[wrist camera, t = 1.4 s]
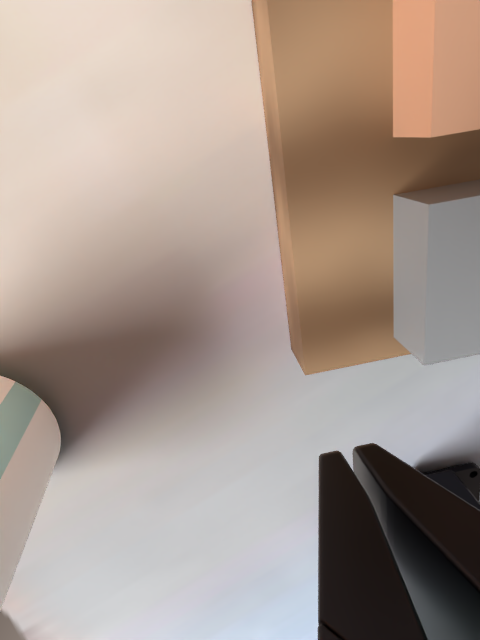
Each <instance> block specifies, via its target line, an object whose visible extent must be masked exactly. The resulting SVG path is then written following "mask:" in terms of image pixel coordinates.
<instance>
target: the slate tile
mask: <svg viewBox="0 0 480 640" xmlns="http://www.w3.org/2000/svg"><path fill="white" fill-rule="evenodd" d="M393 283H394V338H395V339H396V340H397V341H398V342H399V343H400V344H402V345H403V346H404V347H405V348H406V349H407V350H408V351H409V352H410V353H411V354H412V355H413V356H414V357H415V358H416V359H418V360H419V361H420V362H421V363H422V364H423V365H429V364H434V363H439V362H444V361H449V360H453V359H458V358H463V357H468V356H473V355H478V354H480V179H479V180H473V181H468V182H462V183H457V184H451V185H446V186H440V187H434V188H429V189H423V190H418V191H412V192H407V193H401V194H395V195H393Z"/></svg>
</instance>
